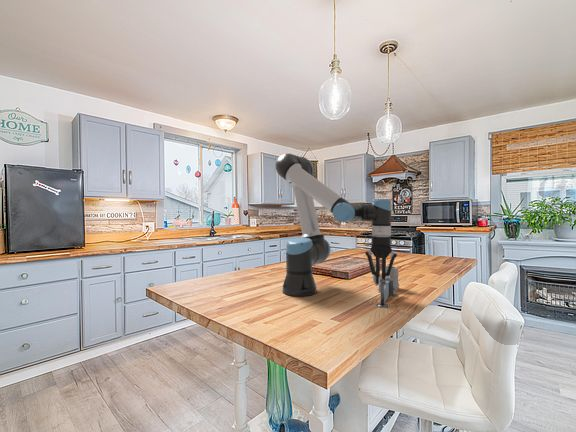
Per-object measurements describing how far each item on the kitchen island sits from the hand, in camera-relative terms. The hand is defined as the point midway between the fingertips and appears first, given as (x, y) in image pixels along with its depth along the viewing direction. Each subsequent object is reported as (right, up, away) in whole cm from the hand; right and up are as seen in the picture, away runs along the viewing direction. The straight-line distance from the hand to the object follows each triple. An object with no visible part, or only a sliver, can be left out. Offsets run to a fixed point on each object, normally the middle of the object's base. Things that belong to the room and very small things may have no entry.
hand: (380, 291), depth 117 cm
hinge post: (-3, -2, -12) cm, 13 cm away
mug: (+7, -2, +12) cm, 14 cm away
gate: (+1, -1, -4) cm, 4 cm away
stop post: (+5, -2, +1) cm, 6 cm away
